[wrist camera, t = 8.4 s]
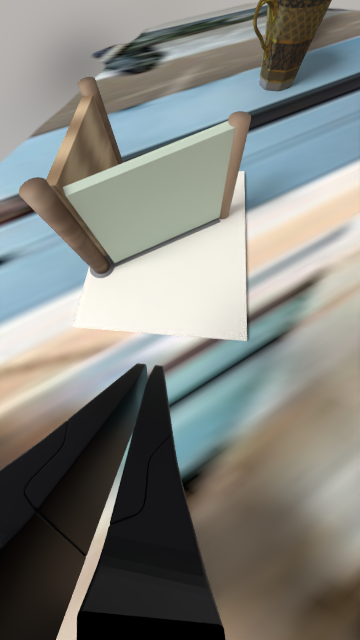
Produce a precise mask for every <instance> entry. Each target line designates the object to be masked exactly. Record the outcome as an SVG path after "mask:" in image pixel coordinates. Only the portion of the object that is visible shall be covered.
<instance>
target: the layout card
mask: <svg viewBox="0 0 360 640" xmlns="http://www.w3.org/2000/svg"><path fill="white" fill-rule="evenodd" d="M104 256H105V257H106V259H107V260H108V261H109V263H110V268H109V270H108V271H107V272H106V273H104V274H97V273H96V272H95V271H94V270H93V269H92V268H91V267H90V266H89V269H88V273H87V276H86V280H85V283H84V287H83V290H82V294H81V297H80V301H79V305H78V308H77V312H76V315H75V319H74V322H73V326H72V327H75V328H87V329H100V330H112V331H125V332H137V333H150V334H162V335H175V336H187V337H200V338H212V339H225V340H237V341H247V313H246V250H245V188H244V171H239V172H238V177H237V181H236V185H235V190H234V194H233V198H232V203H231V207H230V211H229V215H228V217H227V218H225V219H219V218H217V219H215V220H212V221H210V222H208V223H206V224H203V225H201V226H199V227H196V228H194V229H192V230H190V231H187V232H185V233H183V234H180V235H178V236H176V237H174V238H171V239H169V240H167V241H164V242H162V243H160V244H158V245H155V246H153V247H151V248H148V249H146V250H144V251H142V252H139V253H137V254H135V255H132V256H130V257H128V258H126V259H123V260H121V261H119V262H116V263H114V262H113V260H112V259H111V258H110V256H109V255H104Z"/></svg>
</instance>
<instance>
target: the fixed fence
mask: <svg viewBox="0 0 360 640" xmlns="http://www.w3.org/2000/svg"><path fill="white" fill-rule="evenodd" d="M78 86H79V88H80V91H81V93H82V99H81V101H80V103H79V105H78V108H77V110H76V112H75V115H74V117H73V119H72V122H71V124H70V126H69V128H68V131H67V133H66V135H65V138H64V140H63V142H62V144H61V147H60V149H59V151H58V154H57V156H56V158H55V161H54V163H53V165H52V167H51V170H50V172H49V174H48V177H47V179H46V180H45V179H43V178H39V177H37V178H32V179H30V180H28V181H26V182H25V183H24V184H23V185H22V186H21V187H20V189H19V195H20V196H21V197H22V198H23V199H24V200H25V201H26V202H27V203H28V205H29V206H30V207H31V208H32V209H33V210H34V211H35V212H36V213H37V214H38V215H39V216H40V217H41V218H42V219H43V220H44V221H45V222H46V223H47V224H48V225H49V226H50V227H51V228H52V229H53V230H54V231H55V232H56V233H57V234H58V235H59V236H60V237H61V238H62V239H63V240H64V241H65V242H66V243H67V244H68V245H69V246H70V247H71V248H72V249H73V250H74V251H75V252H76V253H77V254H78V255H79V256H80V257H81V258H82V259H83V260H84V261H85V262H86V263H87V264H88V265H89V266H90V267H91V268H92V269H93V270H94V271H95V272H96V273H97V274H104V273H106V272H107V271H108V270H109V268H110V263H109V261H108V260H107V259H106V257H105V256H104V255H108V253H107V252H106V251H105V249H104V248H103V247H102V245H101V244H100V242H99V241H98V240H97V238H96V237H95V236H94V234H93V233H92V231H91V230H90V229H89V227H88V226H87V225H86V223H85V222H84V220H83V219H82V218H81V216H80V215H79V214H78V212H77V211H76V209H75V208H74V207H73V205H72V204H71V203H70V201H69V200H68V198H67V197H66V195H65V193H64V190H63V187H65V186H67V185H70V184H72V183H75V182H77V181H80V180H82V179H85V178H87V177H90V176H92V175H95V174H97V173H100V172H102V171H105V170H107V169H110V168H112V167H115V166H117V165H120V164H122V163H123V161H122V158H121V155H120V152H119V149H118V146H117V143H116V140H115V137H114V134H113V131H112V128H111V125H110V122H109V119H108V116H107V113H106V110H105V107H104V104H103V101H102V98H101V95H100V92H99V89H98V86H97V83H96V80H95V78H93V77H86V78H83V79H82V80H80V81H79V82H78Z"/></svg>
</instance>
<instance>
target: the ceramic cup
mask: <svg viewBox="0 0 360 640" xmlns="http://www.w3.org/2000/svg"><path fill="white" fill-rule="evenodd" d="M331 1H332V0H260V1H259V3H258V5H257V8H256V11H255V14H254V21H253V24H254V30H255V32H256V34H257V36H258V38H259V40H260V42H261V46H262V48H263V58H262V66H261V73H260V80H259V85H261V86H262V87H263V88H264V89H265V90H272V91H280V90H283V89H286V88H288V87H290V86H291V85H292V83H293V81H294V78H295V76H296V74H297V72H298V69H299V67H300V65H301V63H302V61H303V58H304V56H305V54H306V52H307V50H308V47H309V45H310V43H311V41H312V39H313V37H314V35H315V33H316V31H317V29H318V27H319V25H320V23H321V21H322V19H323V17H324V15H325V13H326V11H327V9H328V7H329V5H330V3H331ZM265 3H267V4H268V12H267V21H266V32H265V41H263V37H262V35H261V34H260V32H259V30H258V28H257V16H258V12H259V10H260V8H261V7H262V5H263V4H265Z"/></svg>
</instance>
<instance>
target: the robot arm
mask: <svg viewBox="0 0 360 640" xmlns="http://www.w3.org/2000/svg"><path fill="white" fill-rule="evenodd" d="M147 378H148V376H147V367H146V364H140V363H138V364H136V365H135V366H133V367H132V368H131V369H130V370H129V371H127V372H126V373H125V374H124V375H122V376H121V377H120V378H119V379H117V380H116V381H115V382H114V383H112V384H111V385H110V386H109V387H108V388H106V389H105V390H104V391H103V392H101V393H100V394H99V395H98V396H96V397H95V398H94V399H93V400H91V401H90V402H89V403H88V404H86V405H85V406H84V407H83V408H82V409H80V410H79V411H78V412H77V413H75V414H74V415H73V416H72V417H70V418H69V419H68V421H65V422H64V423H63V424H62V425H60V426H59V427H58V428H57V429H55V430H54V431H53V432H52V433H50V434H49V435H48V436H46V437H45V438H44V439H43V440H41V441H40V442H39V443H37V444H36V445H35V446H33V447H32V448H30V449H29V450H28V451H26V452H25V453H24V454H22V455H21V456H20V457H18V458H17V459H15V460H14V461H12V462H11V463H10V464H8V465H7V466H5V467H4V468H3V469H1V470H0V640H56V638H57V635H58V632H59V630H60V627H61V624H62V622H63V619H64V616H65V613H66V611H67V608H68V605H69V603H70V600H71V597H72V594H73V592H74V589H75V586H76V583H77V581H78V578H79V575H80V573H81V570H82V567H83V564H84V562H85V559H86V555H87V553H88V551H89V548H90V545H91V542H92V540H93V537H94V534H95V532H96V529H97V526H98V523H99V521H100V518H101V515H102V513H103V510H104V507H105V504H106V502H107V499H108V496H109V494H110V491H111V488H112V485H113V483H114V480H115V477H116V475H117V472H118V469H119V466H120V464H121V461H122V458H123V456H124V453H125V450H126V447H127V445H128V442H129V439H130V437H131V434H132V431H133V428H134V426H135V428H134V431H133V435H132V439H131V443H130V447H129V451H128V455H127V458H126V462H125V466H124V470H123V474H122V478H121V482H120V486H119V489H118V493H117V497H116V501H115V505H114V509H113V513H112V517H111V520H110V526H109V528H108V532H107V536H106V539H105V543H104V546H103V549H102V552H101V555H100V559H99V562H98V565H97V567H96V570H95V572H94V575H93V578H92V580H91V583H90V585H89V588H88V590H87V593H86V595H85V598H84V600H83V603H82V605H81V607H80V610H79V612H78V615H77V640H225V633H224V628H223V625H222V622H221V619H220V616H219V613H218V610H217V606H216V603H215V600H214V597H213V594H212V591H211V587H210V584H209V581H208V578H207V574H206V571H205V567H204V564H203V560H202V557H201V553H200V549H199V546H198V542H197V538H196V534H195V530H194V526H193V523H192V519H191V515H190V511H189V507H188V504H187V500H186V496H185V492H184V488H183V484H182V480H181V476H180V472H179V467H178V463H177V457H176V451H175V445H174V438H173V431H172V424H171V417H170V410H169V403H168V396H167V388H166V381H165V374H164V367H163V366H160V365H155V366H154V368H153V370H152V372H151V374H150V377H149V379H148V381H147ZM135 423H136V424H135Z"/></svg>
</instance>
